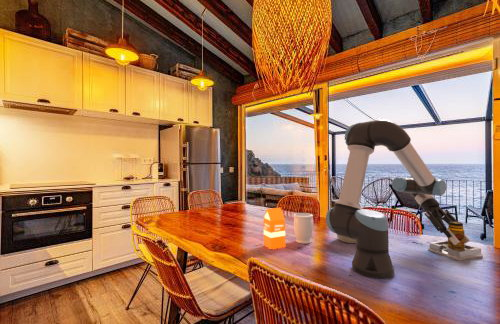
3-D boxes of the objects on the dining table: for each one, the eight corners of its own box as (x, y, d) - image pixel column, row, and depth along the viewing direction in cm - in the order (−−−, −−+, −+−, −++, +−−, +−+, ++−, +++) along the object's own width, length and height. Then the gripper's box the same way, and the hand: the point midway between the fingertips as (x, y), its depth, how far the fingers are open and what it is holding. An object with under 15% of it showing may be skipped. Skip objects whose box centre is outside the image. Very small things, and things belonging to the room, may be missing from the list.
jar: (316, 241, 137) (316, 214, 137) (307, 245, 129) (306, 217, 130) (300, 237, 144) (299, 211, 144) (290, 241, 137) (289, 214, 137)
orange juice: (263, 245, 132) (263, 207, 132) (277, 242, 135) (277, 206, 135) (271, 249, 124) (270, 210, 125) (285, 247, 128) (285, 208, 128)
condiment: (454, 250, 112) (454, 224, 112) (439, 244, 120) (439, 220, 120) (470, 250, 112) (470, 224, 112) (454, 244, 120) (454, 219, 120)
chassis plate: (458, 260, 107) (458, 252, 107) (428, 250, 120) (428, 242, 120) (482, 256, 111) (482, 248, 111) (450, 246, 124) (450, 239, 124)
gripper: (435, 204, 133) (470, 244, 118) (408, 207, 128) (441, 249, 112) (445, 196, 128) (483, 236, 113) (417, 198, 123) (453, 240, 107)
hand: (462, 242), depth 112 cm, fingers closed on condiment, 6 cm apart
